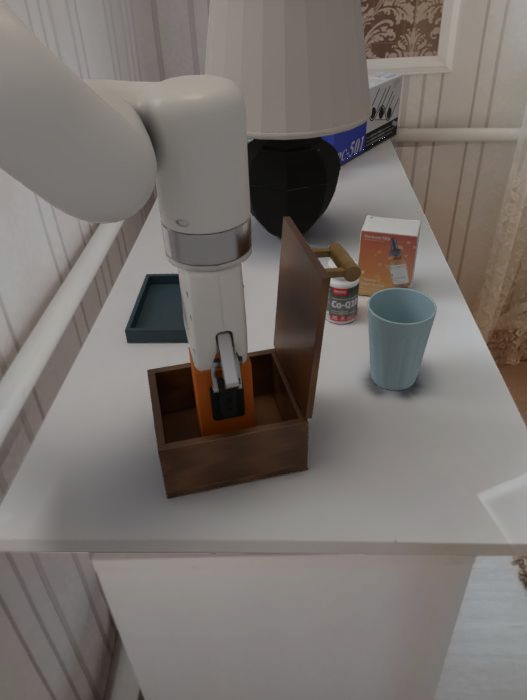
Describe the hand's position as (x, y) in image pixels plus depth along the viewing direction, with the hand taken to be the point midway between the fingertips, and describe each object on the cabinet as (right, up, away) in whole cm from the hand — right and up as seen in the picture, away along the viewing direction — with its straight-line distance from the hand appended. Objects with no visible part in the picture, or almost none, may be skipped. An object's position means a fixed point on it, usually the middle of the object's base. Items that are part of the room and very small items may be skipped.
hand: (223, 394), depth 62 cm
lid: (+7, +8, -4) cm, 11 cm away
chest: (0, -5, +4) cm, 7 cm away
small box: (+22, +14, +29) cm, 39 cm away
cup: (+20, +1, +12) cm, 24 cm away
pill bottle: (+15, +9, +23) cm, 29 cm away
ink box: (+26, +52, +80) cm, 99 cm away
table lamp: (+8, +25, +45) cm, 53 cm away
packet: (0, -5, +4) cm, 6 cm away
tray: (-8, +10, +25) cm, 29 cm away
